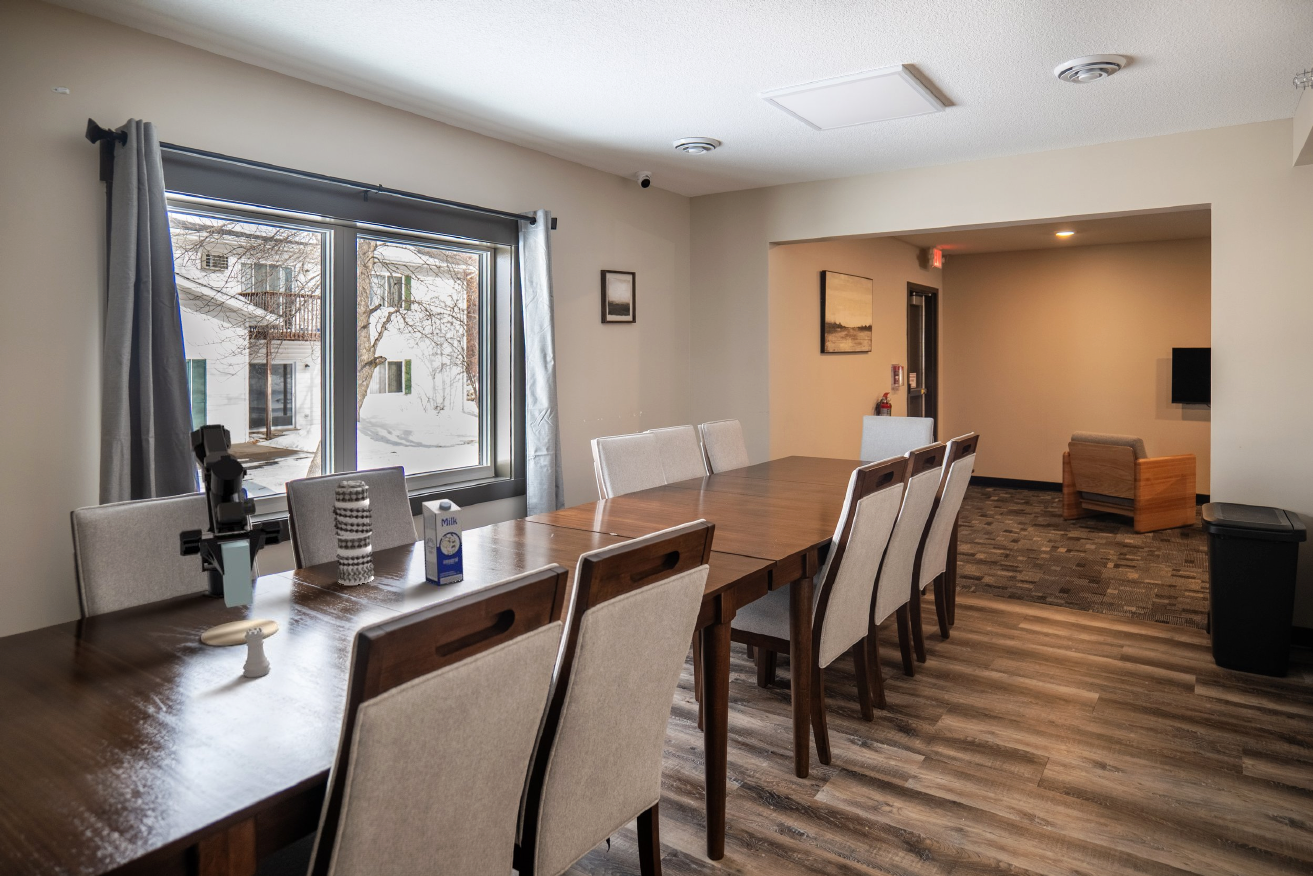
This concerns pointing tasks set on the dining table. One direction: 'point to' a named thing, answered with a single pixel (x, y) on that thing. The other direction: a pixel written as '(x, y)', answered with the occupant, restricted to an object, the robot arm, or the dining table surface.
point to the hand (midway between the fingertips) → (237, 572)
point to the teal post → (237, 573)
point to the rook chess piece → (255, 655)
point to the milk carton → (442, 542)
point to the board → (237, 632)
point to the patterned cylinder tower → (353, 533)
